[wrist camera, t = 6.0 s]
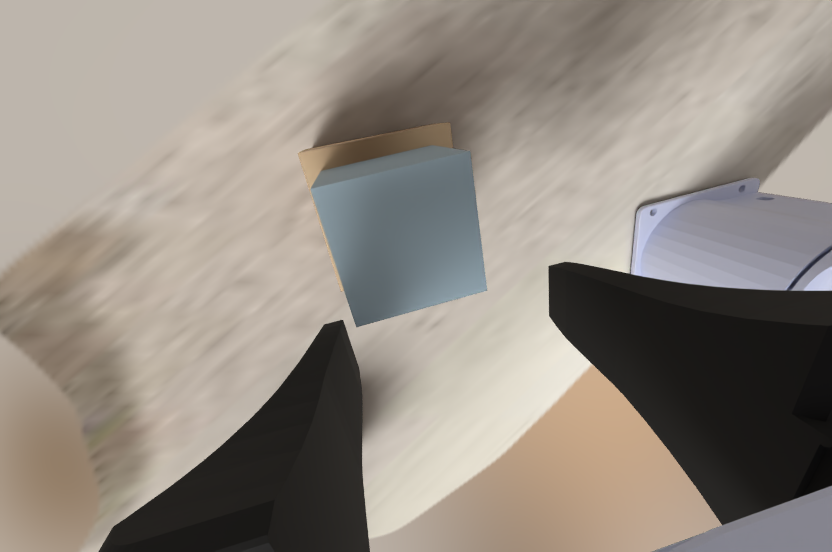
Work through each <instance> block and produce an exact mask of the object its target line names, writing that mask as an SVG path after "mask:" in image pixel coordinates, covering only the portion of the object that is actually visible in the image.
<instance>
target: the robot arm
mask: <svg viewBox="0 0 832 552" xmlns="http://www.w3.org/2000/svg"><path fill="white" fill-rule="evenodd" d="M759 185H760V180H759V179H758V178H748V179H744V180H740V181H736V182H732V183H729V184H725V185H721V186H717V187H713V188H710V189H706V190H702V191H698V192H694V193H691V194H687V195H683V196H679V197H675V198H672V199H668V200H664V201H660V202H656V203H652V204H649V205H645V206H642V207H641V208H639V209H638V211H637V214H636V224H635V234H634V245H633V255H632V266H631V274H628V273H623V272H618V271H613V270H609V269H604V268H599V267H594V266H589V265H584V264H578V263H571V262H563V263H559V264H555V265H551V266H549V316H550V318H551V319H552V320H553V322H554V323H555V325H556V326H557V327H558V329H559V330H560V331H561V332H562V334H563V335H564V336H565V337H566V338H567V339H568V341H569V342H570V343H571V344H572V345H573V346H574V347H575V348H577V349H578V350H579V351H580V352H581V353H582V354H583V355H584V356H585V357H586V358H587V359H588V360H589V361H590V362H591V363H592V364H593V365H594V366H595V367H596V368H597V369H598V370H599V371H600V372H601V373H602V374H603V375H604V376H605V377H606V378H607V379H608V380H609V381H611V382H612V383H613V384H614V385H615V387H616V388H618V390H619V391H620V392H621V393H622V394H623V395H624V396H625V397H626V398H627V400H628V401H629V402H630V403H631V404H632V405H633V406H634V408H635V409H636V410H637V411H638V413H639V414H640V415H641V416H642V417H643V418H644V420H645V421H646V422H647V423H648V425H649V426H650V427H651V428H652V429H653V431H654V432H655V433H656V435H657V436H658V437H659V438H660V440H661V441H662V442H663V444H664V445H665V446H666V447H667V449H668V450H669V451H670V452H671V454H672V455H673V457H674V458H675V459H676V461H677V462H678V463H679V465H680V466H681V467H682V469H683V470H684V471H685V473H686V474H687V475H688V477H689V478H690V479H691V481H692V482H693V484H694V485H695V486H696V487H697V489H698V491H699V492H700V493H701V495H702V496H703V498H704V499H705V500H706V502H707V504H708V505H709V506H710V508H711V509H712V511H713V512H714V514H715V515H716V517H717V518H718V519H719V521H720V522H721V524H722V526H719V527H716V528H714V529H711V530H709V531H707V532H705V533H702V534H699V535H696V536H694V537H691V538H688V539H685V540H683V541H680V542H677V543H674V544H671V545H669V546H666V547H663V548H660V549H658V550H655V551H652V552H832V203H828V202H821V201H814V200H807V199H800V198H794V197H787V196H780V195H774V194H767V193H760V192H758V189H759ZM651 210H652V212H651ZM650 212H651V213H650ZM99 552H370V548H369V539H368V529H367V519H366V509H365V498H364V487H363V476H362V388H361V380H360V372H359V367H358V364H357V361H356V358H355V355H354V352H353V349H352V346H351V343H350V340H349V337H348V334H347V331H346V328H345V325H344V322H343V320H340V321H336V322H332V323H328V324H325V325H324V326H323V327H322V329H321V330H320V332H319V333H318V335H317V336H316V338H315V339H314V341H313V342H312V344H311V345H310V347H309V348H308V350H307V351H306V353H305V354H304V356H303V357H302V359H301V360H300V362H299V363H298V364H297V366H296V367H295V368H294V369H293V371H292V372H291V373H290V375H289V376H288V377H287V379H286V380H285V381H284V382H283V384H282V385H281V386H280V387H279V389H278V390H277V391H276V392H275V393H274V394H273V396H272V397H271V398H270V399H269V400H268V401H267V402H266V403H265V404H264V405H263V406H262V407H261V409H260V410H259V411H258V412H257V413H256V414H255V415H254V416H253V417H252V418H251V419H250V420H249V421H248V422H246V423H245V424H244V425H243V426H242V427H241V428H240V429H239V430H238V431H237V432H236V433H235V434H234V435H233V436H231V437H230V438H229V439H228V440H227V441H226V442H225V443H224V444H223V445H222V446H220V447H219V448H218V449H217V450H216V451H215V452H213V453H212V454H211V455H210V456H209V457H207V458H206V459H205V460H204V461H203V462H201V463H200V464H199V465H198V466H196V467H195V468H194V469H192V470H191V471H190V472H189V473H187V474H186V475H185V476H184V477H182V478H181V479H180V480H178V481H177V482H176V483H174V484H173V485H172V486H170V487H169V488H168V489H166V490H165V491H164V492H162V493H161V494H159V495H158V496H157V497H155V498H154V499H152V500H151V501H149V502H148V503H147V504H145V505H144V506H142V507H141V508H140V509H138V510H137V511H135V512H134V513H133V514H131V515H130V516H128V517H127V518H126V519H124V520H123V521H121V522H120V523H118V524H117V525H115V526H114V527H113V528H112V530H111V531H110V533H109V535H108V536H107V538H106V540H105V541H104V543H103V545H102V547H101V548H100V550H99Z"/></svg>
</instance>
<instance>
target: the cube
mask: <svg viewBox="0 0 832 552" xmlns="http://www.w3.org/2000/svg"><path fill="white" fill-rule="evenodd" d="M310 190H311V193H312V196H313V199H314V202H315V205H316V208H317V211H318V214H319V217H320V220H321V223H322V226H323V229H324V232H325V235H326V238H327V241H328V244H329V247H330V250H331V253H332V256H333V259H334V262H335V265H336V268H337V271H338V274H339V277H340V280H341V283H342V286H343V289H344V292H345V295H346V298H347V300H348V303H349V306H350V309H351V312H352V315H353V318H354V321H355V324H356V327H359V326H362V325H366V324H370V323H373V322H377V321H380V320H384V319H387V318H391V317H394V316H398V315H402V314H405V313H409V312H412V311H416V310H419V309H423V308H427V307H430V306H434V305H437V304H441V303H444V302H448V301H452V300H455V299H459V298H462V297H466V296H469V295H473V294H476V293H480V292H484V291H487V285H486V277H485V269H484V261H483V253H482V244H481V236H480V228H479V220H478V211H477V203H476V195H475V187H474V179H473V170H472V162H471V154H470V151H466V150H460V149H454V148H447V147H441V146H434V145H430V146H426V147H421V148H417V149H413V150H409V151H404V152H400V153H396V154H391V155H387V156H383V157H378V158H374V159H370V160H366V161H361V162H357V163H353V164H348V165H344V166H340V167H335V168H331V169H327V170H323V171H321V172H320V173H319V175H318V177H317V178H316V180H315V182H314V183H313V185H312V187H311V189H310Z"/></svg>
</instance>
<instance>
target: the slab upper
mask: <svg viewBox="0 0 832 552" xmlns="http://www.w3.org/2000/svg"><path fill="white" fill-rule="evenodd" d="M430 145H434V146H441V147H447V148H453V143H452V135H451V126H450V122H449V123H438V124H429V125H424V126H419V127H414V128H409V129H405V130H400V131H395V132H390V133H385V134H380V135H375V136H370V137H365V138H360V139H355V140H350V141H345V142H340V143H335V144H330V145H325V146H320V147H315V148H310V149H306V150H303V151H301V152H299V153H298V156H299V159H300V162H301V165H302V168H303V172H304V175H305V178H306V181H307V184H308V188H309V191H310V194H311V197H312V200H313V204H314V207H315V210H316V213H317V216H318V220H319V223H320V226H321V229H322V232H323V236H324V239H325V242H326V245H327V248H328V252H329V255H330V258H331V261H332V264H333V268H334V271H335V274H336V277H337V280H338V284H339V287H340V290H341V292H342V291H344V289H343V286H342V283H341V280H340V277H339V274H338V271H337V268H336V265H335V262H334V259H333V256H332V253H331V250H330V247H329V244H328V241H327V238H326V235H325V232H324V229H323V226H322V223H321V220H320V217H319V214H318V211H317V208H316V205H315V202H314V199H313V196H312V193H311V190H310V189H311V187H312V185H313V183H314V182H315V180H316V178H317V177H318V175H319V173H320V172H321V171H323V170H327V169H331V168H335V167H340V166H344V165H348V164H353V163H357V162H361V161H366V160H370V159H374V158H378V157H383V156H387V155H391V154H396V153H400V152H404V151H409V150H413V149H417V148H421V147H426V146H430Z"/></svg>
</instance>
